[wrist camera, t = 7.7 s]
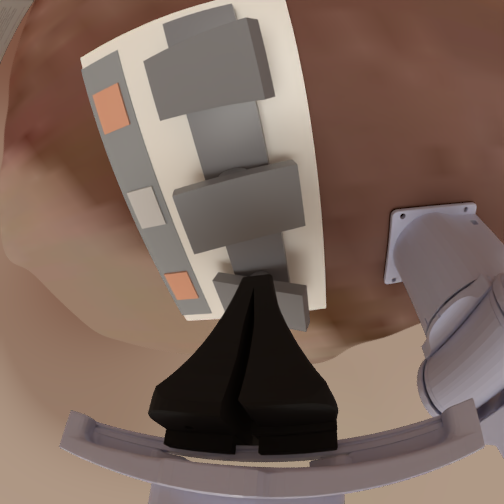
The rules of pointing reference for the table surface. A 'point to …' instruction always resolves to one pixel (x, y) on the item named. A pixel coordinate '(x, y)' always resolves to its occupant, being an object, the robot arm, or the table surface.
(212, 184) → the switch
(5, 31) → the small box
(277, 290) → the switch
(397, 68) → the table surface
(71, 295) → the table surface
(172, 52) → the switch
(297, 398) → the robot arm
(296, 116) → the switch panel
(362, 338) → the table surface
